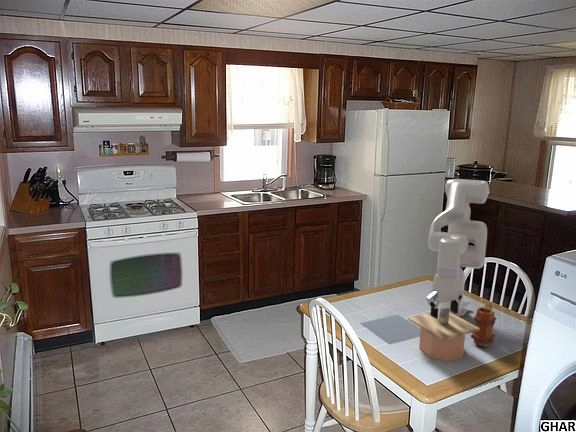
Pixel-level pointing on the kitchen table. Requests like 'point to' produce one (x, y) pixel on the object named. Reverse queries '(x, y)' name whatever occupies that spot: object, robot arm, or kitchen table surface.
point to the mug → (484, 325)
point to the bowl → (441, 346)
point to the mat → (393, 329)
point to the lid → (444, 324)
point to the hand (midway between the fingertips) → (443, 314)
